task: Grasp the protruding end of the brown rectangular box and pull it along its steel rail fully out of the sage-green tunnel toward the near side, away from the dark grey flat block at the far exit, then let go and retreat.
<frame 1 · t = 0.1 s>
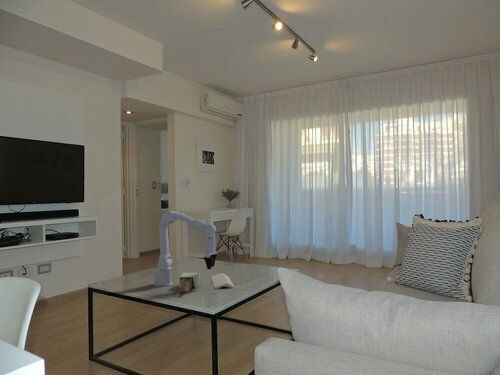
hand: (210, 267, 210), 10 cm above the table, tool pointing down, fingers open, 7 cm apart
dark grey flat block: (193, 282, 216), on the table
tunnel: (189, 286, 207), on the table
brown rectangular box: (186, 284, 200), point 3 cm above the table, slide at 0.0 cm
rail: (186, 289, 199), on the table
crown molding: (221, 284, 215), on the table
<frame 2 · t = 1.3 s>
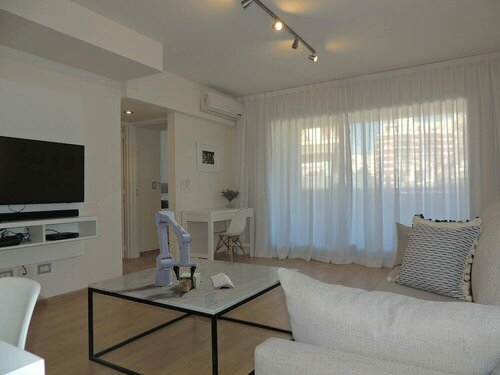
hand: (184, 279, 197), 6 cm above the table, tool pointing down, fingers open, 7 cm apart
nothing on the table moved.
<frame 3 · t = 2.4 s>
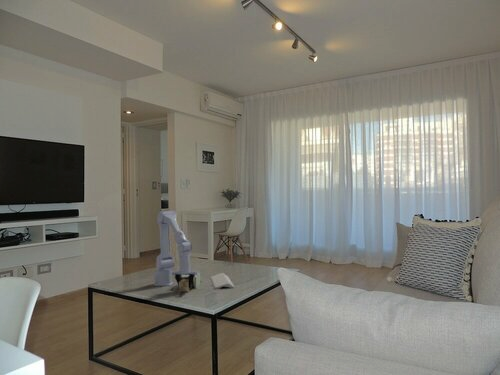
hand: (184, 288, 196), 2 cm above the table, tool pointing down, fingers closed on brown rectangular box, 5 cm apart
brown rectangular box: (186, 284, 200), point 3 cm above the table, slide at 0.0 cm, touching gripper
everything else where it was.
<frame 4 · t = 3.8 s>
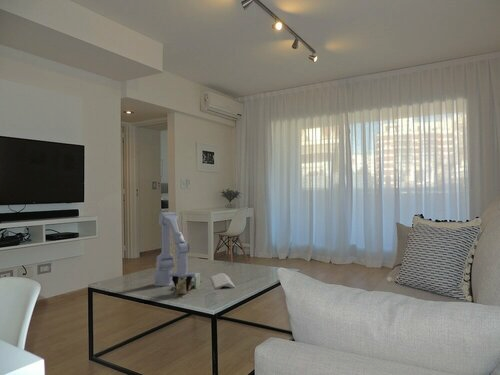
hand: (182, 290, 192), 2 cm above the table, tool pointing down, fingers closed on brown rectangular box, 5 cm apart
brown rectangular box: (184, 286, 195), point 3 cm above the table, slide at 4.8 cm, touching gripper
everything else where it was.
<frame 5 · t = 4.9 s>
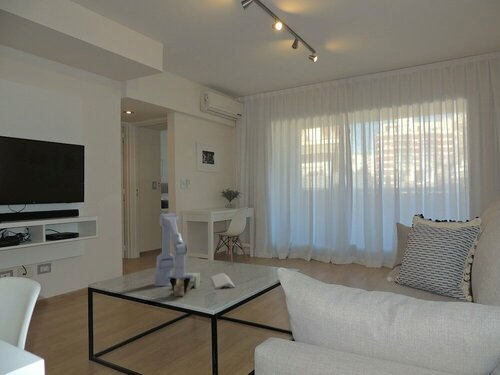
hand: (180, 292, 188), 2 cm above the table, tool pointing down, fingers closed on brown rectangular box, 5 cm apart
brown rectangular box: (182, 288, 191), point 3 cm above the table, slide at 8.8 cm, touching gripper
everything else where it was.
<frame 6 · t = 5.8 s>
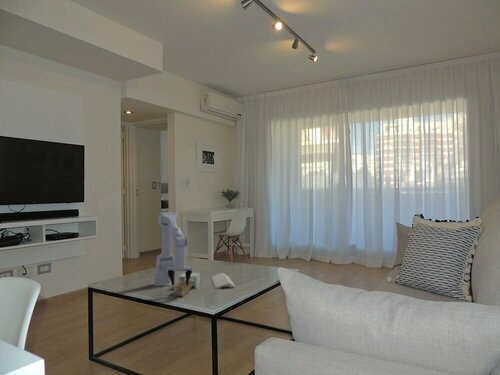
hand: (180, 284, 188), 6 cm above the table, tool pointing down, fingers open, 7 cm apart
brown rectangular box: (182, 288, 191), point 3 cm above the table, slide at 8.8 cm
everything else where it was.
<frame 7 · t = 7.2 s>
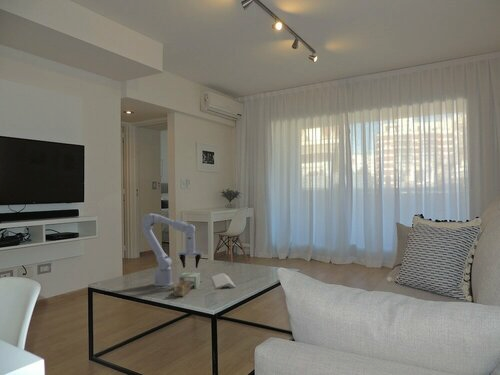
hand: (190, 267, 212), 10 cm above the table, tool pointing down, fingers open, 7 cm apart
nothing on the table moved.
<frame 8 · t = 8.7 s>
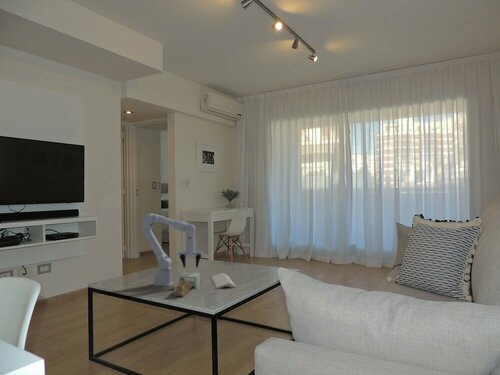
hand: (190, 267, 213), 10 cm above the table, tool pointing down, fingers open, 7 cm apart
nothing on the table moved.
at the end: brown rectangular box slide at 8.8 cm; the gripper is holding nothing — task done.
